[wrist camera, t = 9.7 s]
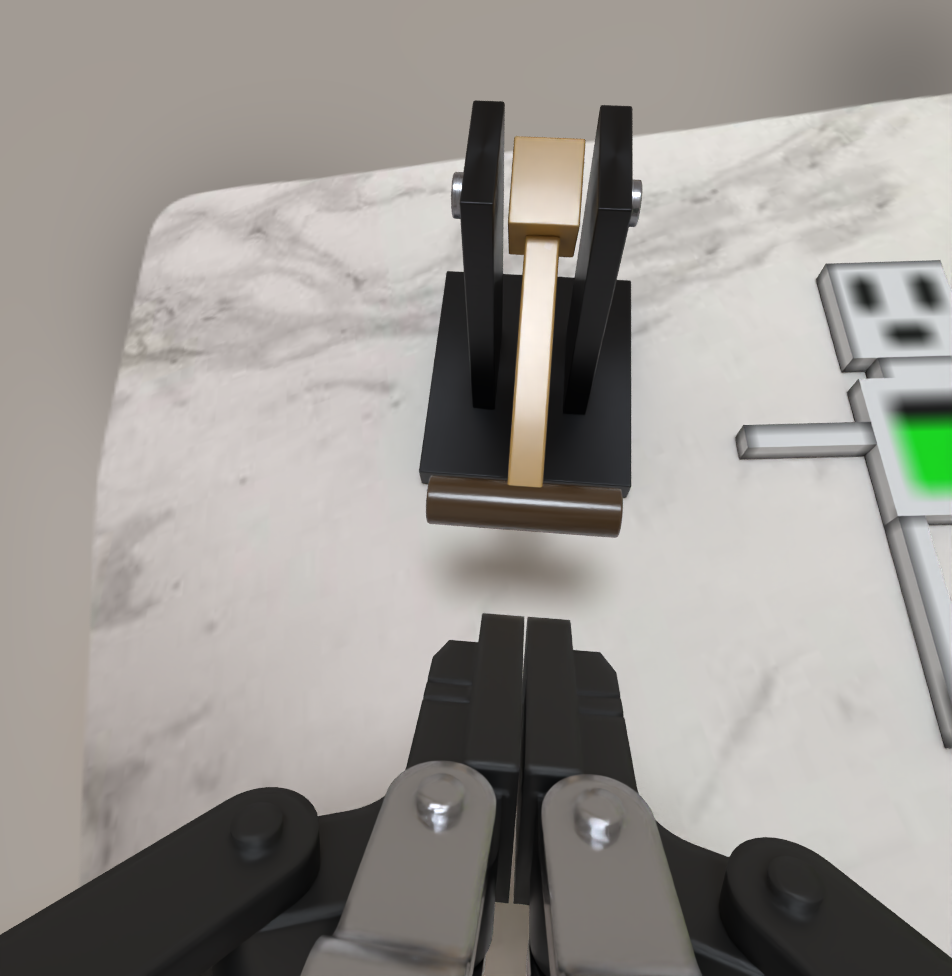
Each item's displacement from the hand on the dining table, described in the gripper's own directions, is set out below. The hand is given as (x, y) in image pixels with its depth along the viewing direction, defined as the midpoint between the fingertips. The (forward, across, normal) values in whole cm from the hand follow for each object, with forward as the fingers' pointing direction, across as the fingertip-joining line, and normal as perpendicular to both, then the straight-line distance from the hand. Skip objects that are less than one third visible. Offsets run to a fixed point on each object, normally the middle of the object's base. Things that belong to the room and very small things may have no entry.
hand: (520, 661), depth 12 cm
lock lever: (+13, 0, -3) cm, 14 cm away
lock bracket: (+22, 0, 0) cm, 22 cm away
